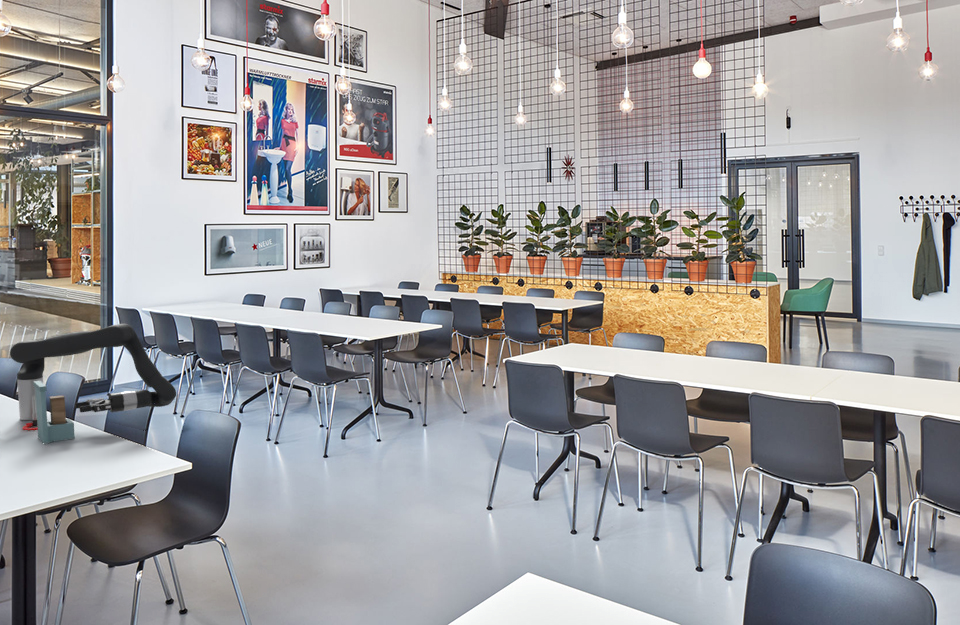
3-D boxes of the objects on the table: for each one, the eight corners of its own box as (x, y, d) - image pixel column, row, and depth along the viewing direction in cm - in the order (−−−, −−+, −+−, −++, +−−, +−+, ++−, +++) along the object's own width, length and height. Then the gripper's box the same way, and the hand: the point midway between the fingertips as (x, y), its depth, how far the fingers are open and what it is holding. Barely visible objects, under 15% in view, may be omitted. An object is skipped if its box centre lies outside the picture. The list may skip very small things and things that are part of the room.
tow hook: (46, 430, 289) (47, 423, 297) (44, 398, 287) (45, 393, 295) (22, 432, 285) (23, 426, 293) (19, 401, 283) (21, 395, 291)
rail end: (52, 437, 276) (49, 396, 274) (65, 435, 278) (62, 395, 277) (53, 440, 273) (51, 398, 271) (66, 437, 276) (64, 396, 274)
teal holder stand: (36, 437, 277) (33, 381, 274) (68, 432, 284) (65, 377, 281) (43, 444, 266) (39, 386, 264) (76, 439, 273) (72, 383, 271)
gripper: (117, 389, 294) (73, 395, 284) (126, 395, 283) (80, 401, 273) (118, 407, 295) (74, 413, 284) (128, 413, 284) (81, 420, 273)
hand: (77, 407), depth 279 cm, fingers open, 8 cm apart
